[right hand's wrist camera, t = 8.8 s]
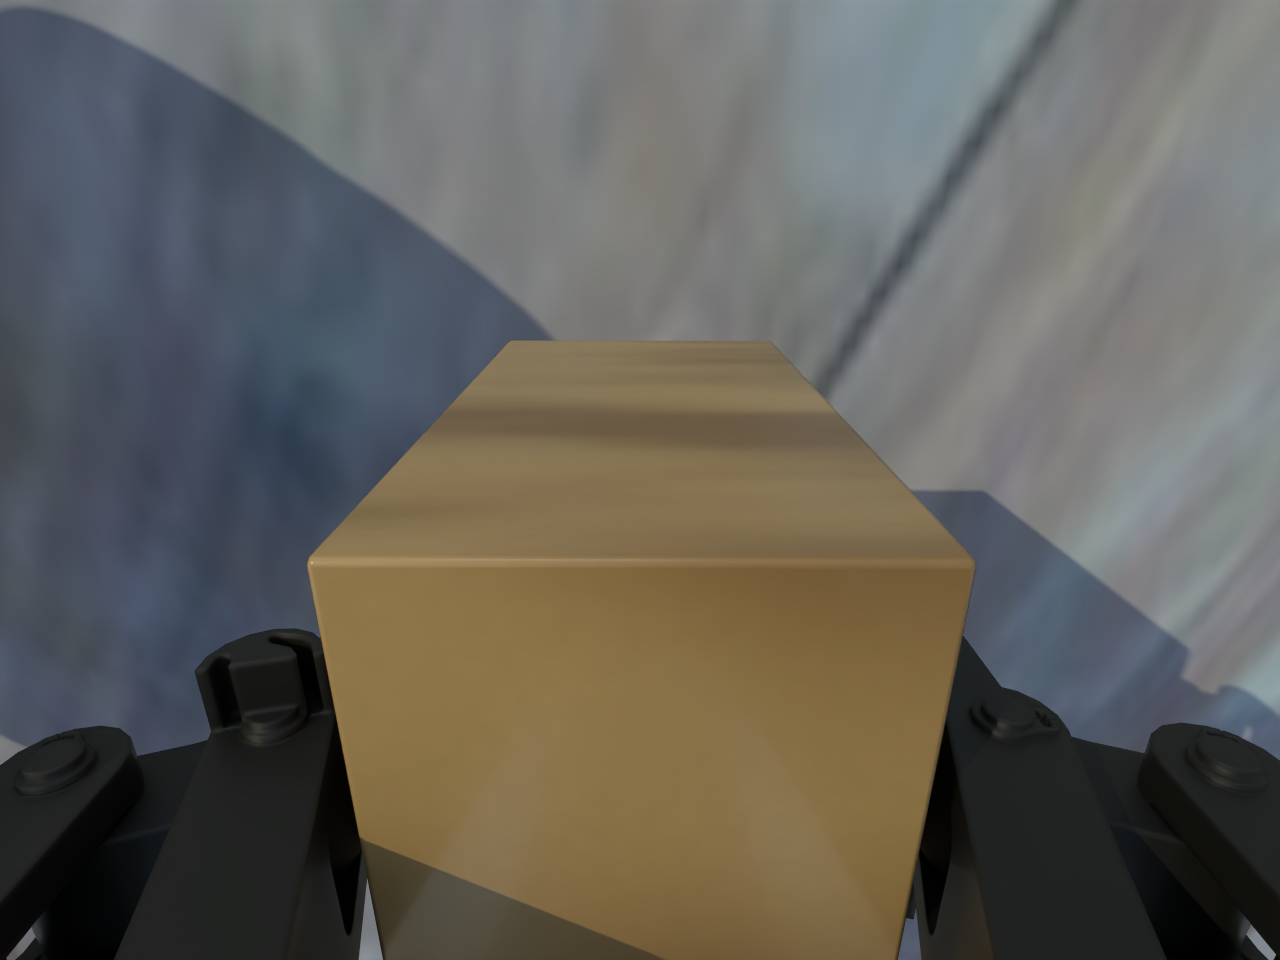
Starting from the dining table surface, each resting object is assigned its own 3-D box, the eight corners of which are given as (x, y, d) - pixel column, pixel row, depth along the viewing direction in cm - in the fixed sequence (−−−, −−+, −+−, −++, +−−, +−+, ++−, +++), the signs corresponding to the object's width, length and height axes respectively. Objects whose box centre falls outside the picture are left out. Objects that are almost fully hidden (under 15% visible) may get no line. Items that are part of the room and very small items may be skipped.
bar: (508, 339, 14) (301, 558, 5) (772, 340, 14) (981, 560, 5) (555, 1048, 22) (501, 1584, 13) (722, 1048, 22) (773, 1583, 13)
